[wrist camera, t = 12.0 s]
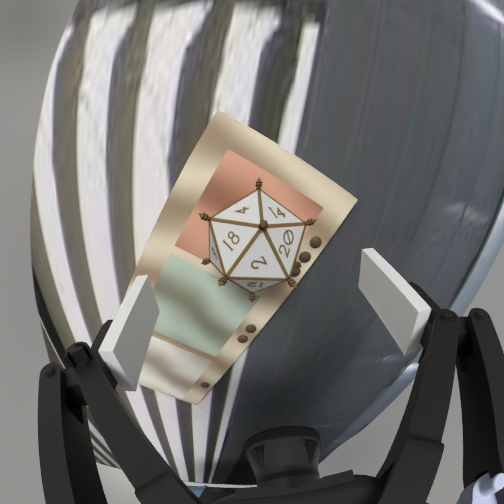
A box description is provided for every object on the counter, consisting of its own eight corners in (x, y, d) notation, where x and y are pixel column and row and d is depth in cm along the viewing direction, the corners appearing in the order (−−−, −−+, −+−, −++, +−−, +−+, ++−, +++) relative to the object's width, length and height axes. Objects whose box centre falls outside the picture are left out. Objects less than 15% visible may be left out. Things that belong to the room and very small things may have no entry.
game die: (242, 195, 28) (252, 137, 18) (311, 246, 27) (355, 211, 17) (184, 265, 26) (161, 236, 16) (257, 321, 25) (277, 327, 15)
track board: (196, 398, 37) (196, 405, 36) (103, 360, 33) (100, 366, 32) (352, 196, 26) (358, 199, 25) (218, 110, 22) (217, 109, 21)
